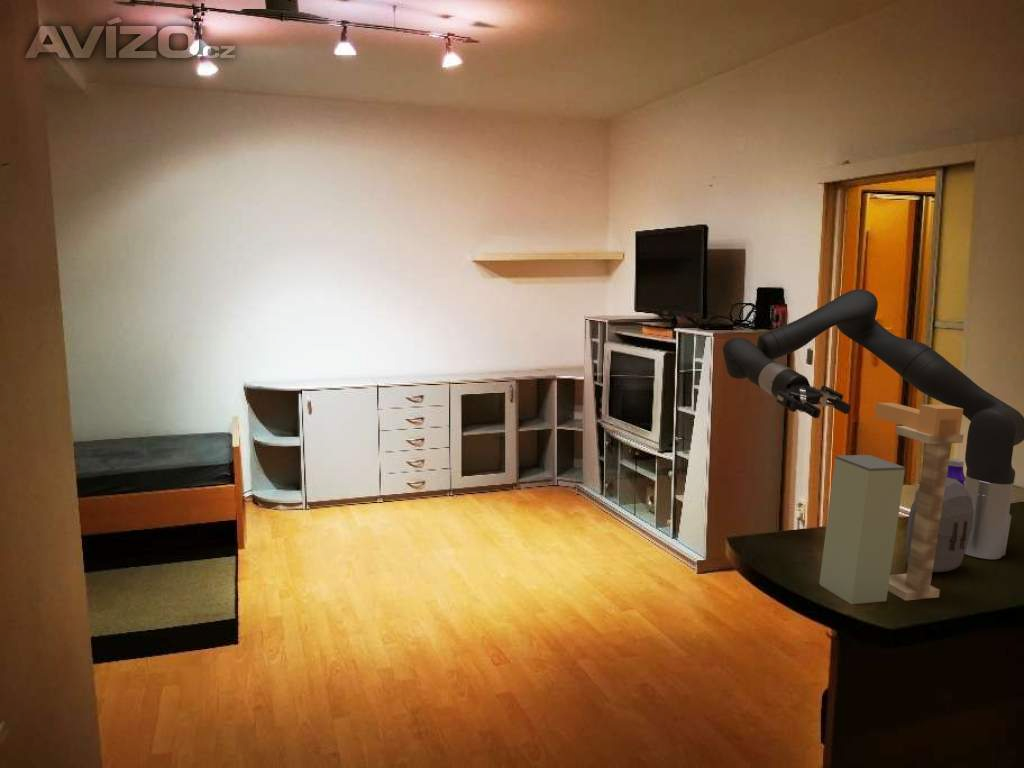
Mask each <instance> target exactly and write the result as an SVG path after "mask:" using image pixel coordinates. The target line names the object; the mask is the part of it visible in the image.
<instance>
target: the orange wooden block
mask: <svg viewBox="0 0 1024 768" xmlns="http://www.w3.org/2000/svg"><path fill="white" fill-rule="evenodd" d="M875 403H876V404H875V410H874V411H875V412H874V418H875V419H879V420H882V421H886V422H890V423H894V424H897V425H899V426H907V427H910V428H914V429H917V431H920V432H923V433H926V434H930V435H933V436H942V435H959V434H961V426H962V420H963V416H964V415H963V409H962V408H958V407H954V406H950V405H946V404H944V403H942V404H920V406H919V408H914V407H911V406H907V405H903V404H900V403H896V402H875Z"/></svg>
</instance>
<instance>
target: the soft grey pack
mask: <svg viewBox="0 0 1024 768" xmlns="http://www.w3.org/2000/svg"><path fill="white" fill-rule="evenodd" d="M918 492H919V487H918V488H917V490H915V493H914V494H915V495H914V500H913V502H912V504H911V506H910V510H909V515H908V520H907V523H906V531H905V532H906V534H905V537H906V538H905V550H906V551H905V552H906V554H905V555H906V562H907V563H908V561H909V554H910V548H911V541H912V534H913V527H914V520H915V513H916V506H917V499H918ZM972 524H973V506H972V499H971V497H970V494H969V492H968V491H967V489H966V488H965V487H964V485H963V484H961V483H960V482H959V481H957V480H956V479H952V478H948V477H947V479H946V485H945V492H944V499H943V505H942V512H941V519H940V525H939V532H938V538H937V545H936V552H935V558H934V565H933V572H932V573H941V572H942V573H943V572H949V571H953V570H956V569H957V568H958V567H960V566H961V565H962V561H963V559H964V556H965V555H966V554H965V551H966V548H967V544H968V540H969V536H970V532H971V531H972Z"/></svg>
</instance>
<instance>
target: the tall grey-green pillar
mask: <svg viewBox="0 0 1024 768" xmlns="http://www.w3.org/2000/svg"><path fill="white" fill-rule="evenodd" d="M833 463H834V465H833V472H832V480H831V481H832V482H831V487H830V488H831V489H830V496H829V503H828V504H829V505H828V511H827V521H826V527H825V535H824V536H825V537H824V543H823V551H822V557H821V558H822V559H821V567H820V575H819V581H818V582H819V584H820V585H819V584H818V585H819V586H821V587H822V588H824V589H825V590H827V591H829V592H831V593H832V594H834V595H835V596H837V597H839V598H840V599H842V600H844V602H846V603H848V604H850V605H859V604H869V603H871V604H873V603H879V602H881V603H882V602H887V600H888V599H887V598H888V592H889V591H888V586H889V579H890V575H891V569H892V563H893V557H894V550H895V544H896V543H895V542H896V535H897V528H898V523H899V522H898V521H899V514H900V507H901V506H900V505H901V501H902V500H901V499H902V493H903V486H904V479H905V472H906V466H902V465H900V464H897V463H894V462H891V461H888V460H885V459H882V458H879V457H877V456H874V455H871V454H853V455H851V454H850V455H835V456H834V462H833Z"/></svg>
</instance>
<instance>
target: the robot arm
mask: <svg viewBox="0 0 1024 768" xmlns="http://www.w3.org/2000/svg"><path fill="white" fill-rule="evenodd" d="M878 305H879V302H878V298H877V297H876V296H875V294H873V292H871V291H869V290H867V289H862V288H861V289H860V288H859V289H851V290H849V291H846V292H845V293H843V294H841V295H839V296H837V297H836V298H834V299H832V300H831V301H829V302H826V304H824V305H822V306H820V307H818V308H817V309H815V310H813V311H811V312H809V313H807V314H806V315H804V316H802V317H800V318H798V319H796V320H794V321H791V322H789V323H786V324H784V325H781V326H779V327H777V328H773V329H771V330H768V331H766V332H764V333H762V334H760V335H759V336H758V337H757V343H756V344H755V343H754V342H752V340H749V339H748V338H744V337H739V336H734V337H731V338H729V339H728V340H726V341H725V342H724V344H723V347H722V353H723V358H724V359H723V360H724V362H725V367H726V372H727V374H728V375H729V376H730V377H731V378H733V379H736V380H742V379H746V378H747V379H748V380H749V381H750V382H751V383H752V384H754V385H756V386H758V387H759V388H761V389H762V390H763V391H764V392H765V393H767V394H769V395H771V396H772V397H774V398H775V399H776V402H777V403H779V405H781V406H783V407H784V408H786V409H787V410H789V411H790V412H793V413H796V411H799V413H805V414H807V415H808V416H811V417H812V418H814V419H819V418H820V415H821V412H822V411H821V409H820V408H819V407H823V408H825V407H830V408H834V409H835V410H837V411H839V412H840V413H842V414H844V415H848V414H849V413H850V412H851V411H850V410H851V405H850V403H847V402H846V401H844V400H843V399H844V394H843V393H841V392H838V391H836V390H834V389H833V388H830V387H828V386H826V385H821V388H820V389H819V388H817V387H816V386H812V385H811V383H810V382H809V380H808V377H806V376H805V375H803V374H802V373H799V372H798V371H796V370H793V369H792V368H790V367H788V366H786V365H784V364H781V363H779V362H776V361H775V360H776V359H778V358H779V359H780V358H781V357H784V356H787V355H789V354H791V353H794V352H796V351H798V350H799V349H801V348H803V347H805V346H806V345H808V344H809V343H810V342H812V341H813V340H814V339H815V338H816V337H818V336H820V335H821V334H823V333H824V332H826V331H827V330H829V329H831V328H832V327H834V326H836V327H837V329H838V330H839V331H840V332H841V333H842V335H844V336H846V337H847V338H848V339H850V340H852V342H855V343H856V344H858V345H859V346H861V347H862V348H864V349H866V350H867V351H869V352H871V353H872V354H873V355H874V356H875V357H877V358H878V359H879V360H881V362H883V363H884V364H885V365H886V366H889V368H890V369H892V370H893V371H895V372H896V373H897V374H898V375H899V376H900V377H901V378H903V380H905V381H906V382H907V383H909V384H910V385H912V387H913V388H915V389H916V390H918V391H920V392H921V393H922V394H925V395H926V396H927V397H929V398H931V399H934V400H935V401H938V402H940V403H942V404H946V405H950V406H954V407H958V408H962V409H963V415H962V416H964V417H965V418H966V419H968V421H970V422H969V426H968V430H967V436H966V446H965V452H964V453H965V455H964V464H965V466H966V472H965V484H964V487H965V488H966V489H967V491H968V492H969V494H970V497H971V499H972V506H973V524H972V531H971V532H970V536H969V540H968V544H967V548H966V551H965V554H964V555H966V556H970V557H975V558H978V559H985V560H998V559H1001V558H1002V557H1003V556H1006V551H1007V546H1008V545H1007V544H1008V539H1009V532H1010V526H1011V521H1012V515H1011V514H1010V508H1011V504H1012V503H1011V501H1012V495H1013V489H1014V483H1015V478H1016V470H1015V469H1014V468H1013V466H1012V461H1013V455H1014V447H1015V446H1017V445H1019V444H1021V443H1022V442H1024V415H1023V414H1022V413H1021V412H1020V411H1018V410H1017V409H1015V407H1013V406H1011V405H1009V404H1008V403H1006V402H1004V401H1002V400H1001V399H999V398H997V397H996V396H995V395H993V394H991V393H989V392H988V391H987V390H985V389H983V388H982V387H981V386H979V385H978V384H976V383H975V382H974V381H973V380H972V379H970V377H968V376H967V375H966V374H965V373H963V371H961V370H960V369H959V368H957V367H956V366H955V365H953V364H952V363H950V362H949V361H948V360H947V359H946V358H945V357H944V356H943V355H941V354H940V353H938V352H937V351H936V350H934V349H933V348H932V347H930V346H928V345H927V344H926V343H923V342H920V341H916V340H913V339H908V338H904V337H900V336H897V335H895V334H893V333H892V332H890V331H889V330H888V329H886V328H885V327H884V326H883V325H881V324H880V323H879V322H878V321H877V320H876V317H877V316H876V315H877V313H878V310H879V309H878V307H879V306H878ZM821 399H822V401H821ZM818 406H819V407H818Z"/></svg>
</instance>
